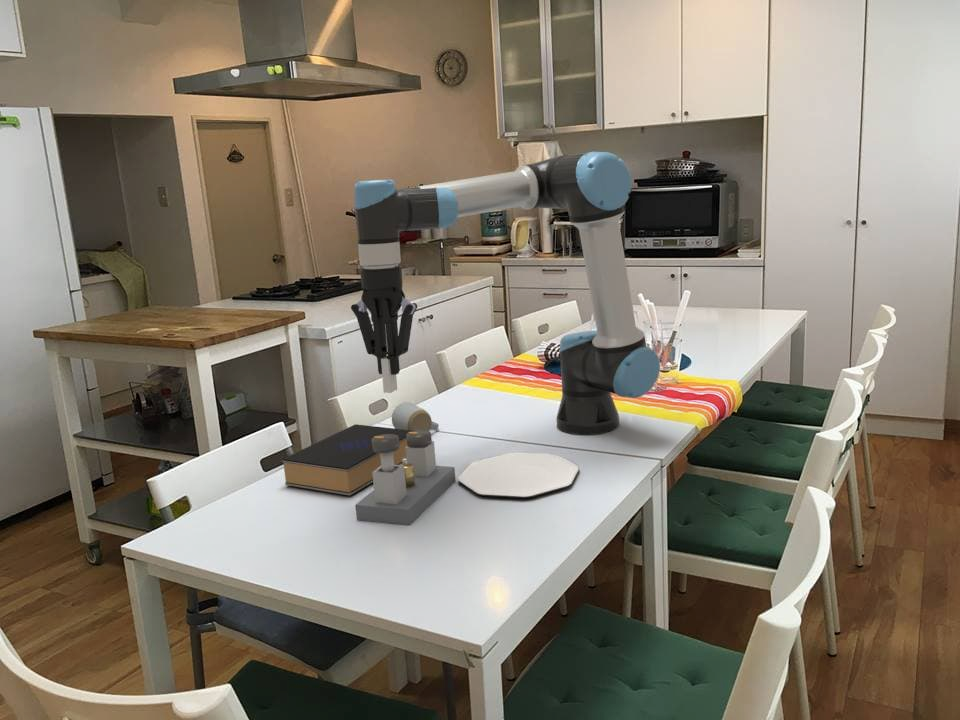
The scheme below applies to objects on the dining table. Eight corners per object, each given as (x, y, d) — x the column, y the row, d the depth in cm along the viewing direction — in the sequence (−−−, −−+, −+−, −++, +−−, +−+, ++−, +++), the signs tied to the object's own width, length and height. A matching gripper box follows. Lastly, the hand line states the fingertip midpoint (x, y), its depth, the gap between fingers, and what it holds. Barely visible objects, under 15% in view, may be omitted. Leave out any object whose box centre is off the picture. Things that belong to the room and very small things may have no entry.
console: (455, 480, 168) (452, 439, 166) (409, 524, 148) (405, 478, 146) (407, 477, 172) (403, 436, 170) (356, 519, 152) (351, 474, 150)
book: (285, 488, 171) (281, 459, 170) (358, 450, 192) (355, 424, 191) (350, 499, 163) (347, 468, 161) (418, 458, 184) (416, 430, 182)
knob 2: (438, 467, 167) (434, 429, 165) (428, 476, 162) (424, 437, 160) (416, 466, 168) (412, 428, 167) (405, 474, 164) (402, 436, 162)
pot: (417, 482, 160) (414, 456, 159) (410, 488, 157) (408, 461, 156) (403, 481, 161) (401, 455, 160) (397, 487, 158) (394, 460, 157)
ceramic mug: (409, 442, 195) (407, 411, 193) (392, 434, 201) (389, 405, 199) (446, 432, 201) (444, 402, 199) (428, 425, 207) (425, 396, 206)
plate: (496, 512, 151) (495, 504, 151) (443, 475, 172) (442, 469, 172) (599, 483, 162) (599, 476, 161) (537, 452, 182) (537, 445, 182)
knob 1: (407, 474, 153) (402, 433, 151) (395, 484, 149) (390, 442, 147) (383, 473, 155) (379, 432, 153) (371, 482, 150) (366, 440, 149)
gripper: (421, 263, 149) (430, 387, 154) (360, 264, 154) (370, 384, 159) (402, 268, 142) (412, 397, 147) (339, 268, 147) (350, 394, 152)
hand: (390, 390), depth 153 cm, fingers closed
